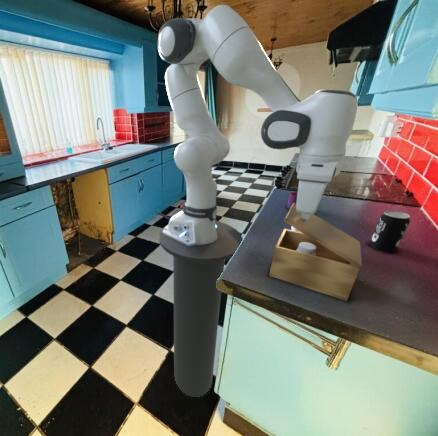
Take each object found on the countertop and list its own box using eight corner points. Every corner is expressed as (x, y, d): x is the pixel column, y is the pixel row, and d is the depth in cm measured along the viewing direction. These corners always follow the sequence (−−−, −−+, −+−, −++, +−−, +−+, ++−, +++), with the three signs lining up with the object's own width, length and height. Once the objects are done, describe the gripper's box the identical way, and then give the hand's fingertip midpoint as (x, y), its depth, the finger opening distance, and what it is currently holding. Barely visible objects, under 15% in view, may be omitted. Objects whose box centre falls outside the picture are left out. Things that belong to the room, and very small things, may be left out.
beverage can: (389, 254, 74) (405, 220, 69) (365, 245, 79) (377, 212, 74) (400, 249, 76) (416, 215, 71) (376, 240, 82) (389, 208, 77)
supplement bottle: (288, 265, 71) (294, 241, 67) (305, 265, 70) (311, 240, 67) (296, 275, 66) (303, 250, 63) (314, 275, 66) (321, 250, 62)
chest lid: (283, 221, 60) (285, 218, 60) (291, 205, 69) (293, 202, 68) (358, 268, 54) (362, 265, 53) (357, 243, 63) (360, 241, 62)
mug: (303, 206, 111) (306, 192, 108) (304, 214, 103) (307, 199, 100) (287, 204, 114) (290, 191, 111) (286, 212, 106) (289, 198, 103)
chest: (269, 275, 68) (275, 246, 64) (278, 255, 77) (284, 228, 73) (346, 301, 58) (359, 268, 54) (346, 274, 67) (358, 244, 63)
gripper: (308, 156, 66) (297, 202, 72) (296, 173, 51) (284, 229, 57) (336, 158, 62) (323, 206, 68) (332, 176, 48) (316, 236, 53)
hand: (305, 217), depth 62 cm, fingers closed, pressing on chest lid
